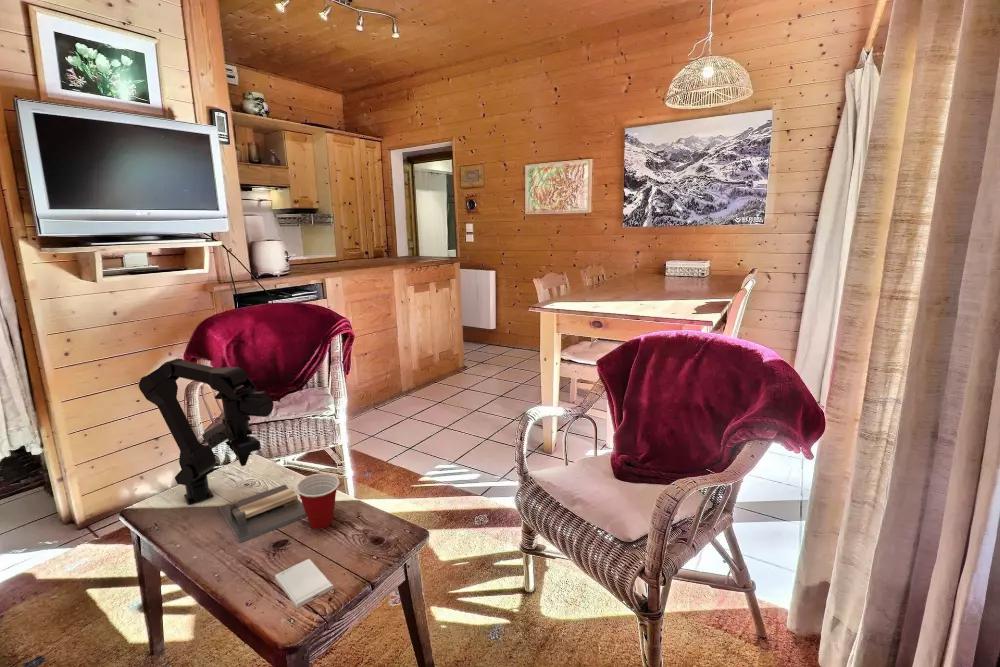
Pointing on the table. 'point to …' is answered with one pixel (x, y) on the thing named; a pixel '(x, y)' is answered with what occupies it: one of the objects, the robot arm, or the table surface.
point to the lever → (266, 503)
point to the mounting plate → (261, 515)
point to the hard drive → (303, 582)
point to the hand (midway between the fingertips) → (243, 465)
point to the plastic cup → (318, 498)
